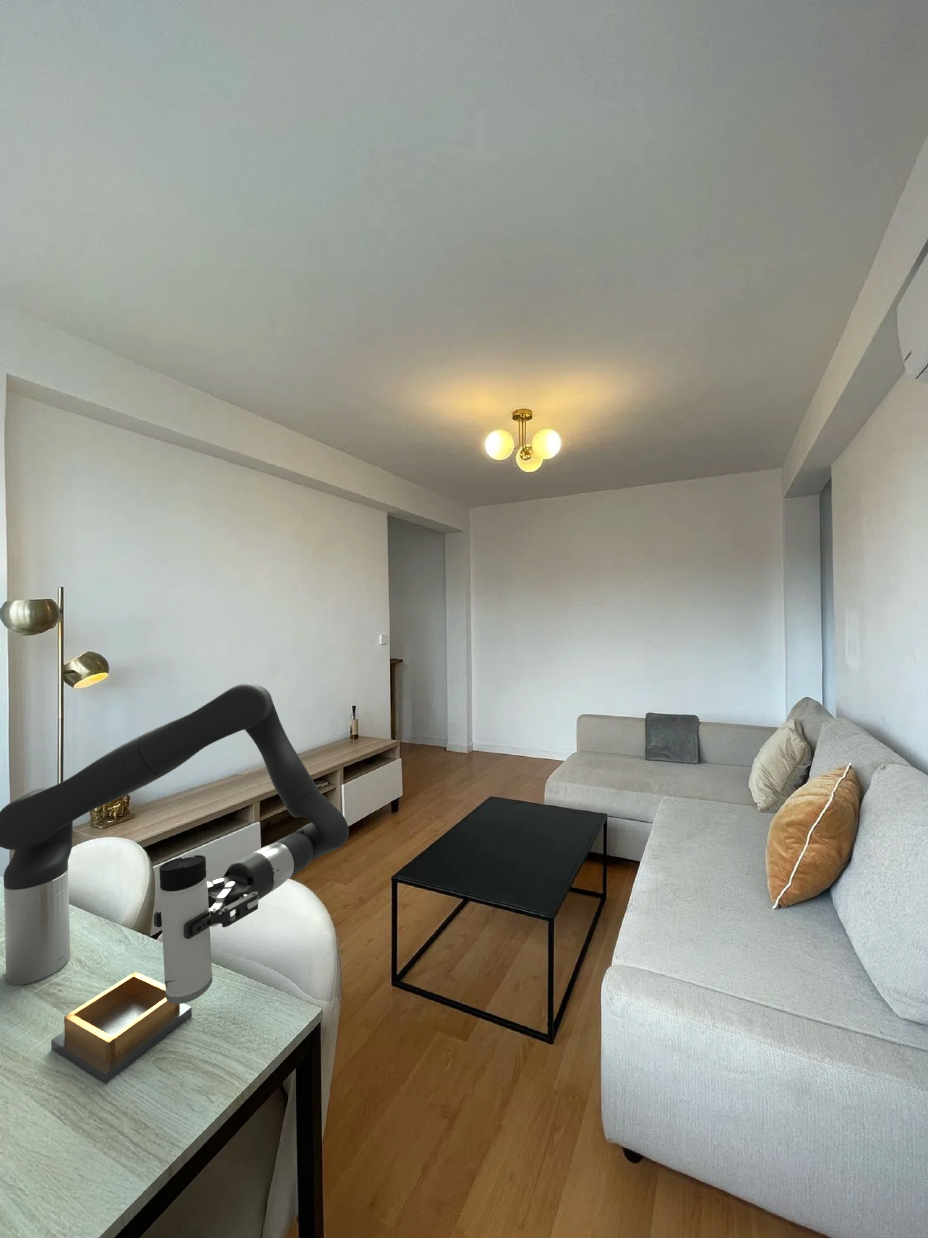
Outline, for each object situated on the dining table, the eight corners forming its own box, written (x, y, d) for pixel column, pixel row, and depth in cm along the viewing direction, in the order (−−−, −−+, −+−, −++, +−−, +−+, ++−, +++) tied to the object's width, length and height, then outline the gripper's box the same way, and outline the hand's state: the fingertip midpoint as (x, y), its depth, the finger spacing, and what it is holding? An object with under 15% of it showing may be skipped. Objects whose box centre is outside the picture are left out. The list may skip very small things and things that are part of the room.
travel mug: (158, 1011, 71) (151, 873, 71) (172, 979, 77) (166, 853, 77) (206, 1000, 73) (199, 865, 73) (216, 970, 79) (210, 846, 79)
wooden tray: (51, 1050, 75) (50, 1020, 75) (139, 991, 87) (138, 965, 87) (105, 1084, 69) (104, 1052, 69) (191, 1016, 81) (191, 988, 81)
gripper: (232, 844, 91) (139, 891, 76) (290, 859, 85) (202, 912, 70) (233, 885, 91) (140, 939, 76) (291, 903, 85) (203, 965, 70)
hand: (170, 926), depth 73 cm, fingers closed on travel mug, 6 cm apart
